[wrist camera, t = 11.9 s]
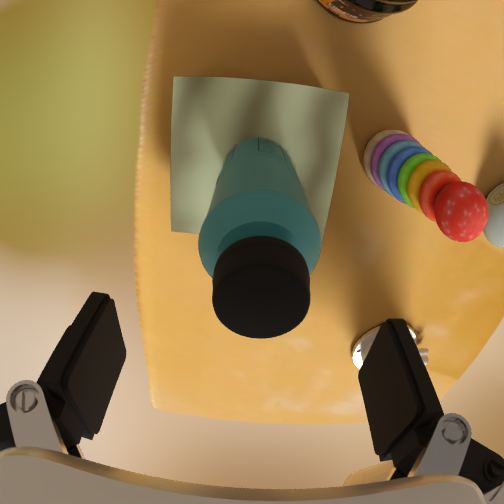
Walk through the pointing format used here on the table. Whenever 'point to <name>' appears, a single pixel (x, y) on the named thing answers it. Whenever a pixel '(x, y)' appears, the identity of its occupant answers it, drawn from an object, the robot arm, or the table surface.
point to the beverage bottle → (259, 242)
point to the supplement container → (364, 9)
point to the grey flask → (495, 217)
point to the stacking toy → (425, 184)
